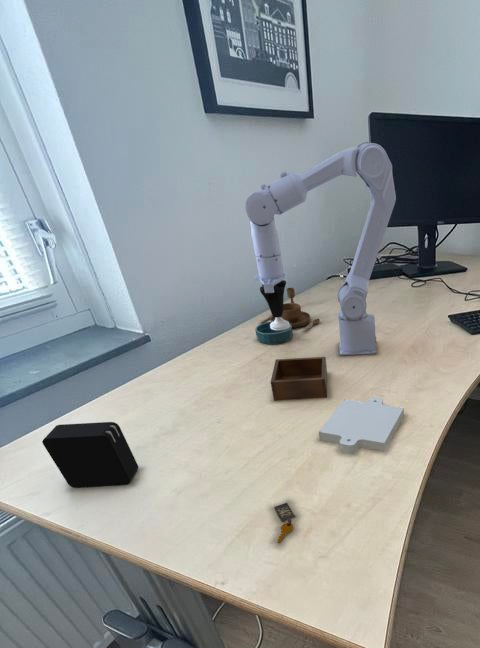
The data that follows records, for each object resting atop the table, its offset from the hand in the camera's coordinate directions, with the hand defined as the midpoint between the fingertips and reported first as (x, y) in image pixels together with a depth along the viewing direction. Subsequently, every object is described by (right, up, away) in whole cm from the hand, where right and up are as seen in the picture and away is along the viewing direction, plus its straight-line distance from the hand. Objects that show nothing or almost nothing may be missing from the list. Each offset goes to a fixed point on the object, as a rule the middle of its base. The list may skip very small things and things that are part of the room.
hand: (278, 315), depth 107 cm
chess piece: (0, -2, +2) cm, 3 cm away
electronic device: (-22, -41, -32) cm, 56 cm away
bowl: (-5, 0, +16) cm, 16 cm away
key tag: (+11, -47, -41) cm, 64 cm away
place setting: (-1, +9, +28) cm, 30 cm away
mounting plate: (+22, -31, -21) cm, 43 cm away
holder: (+7, -19, -7) cm, 22 cm away
